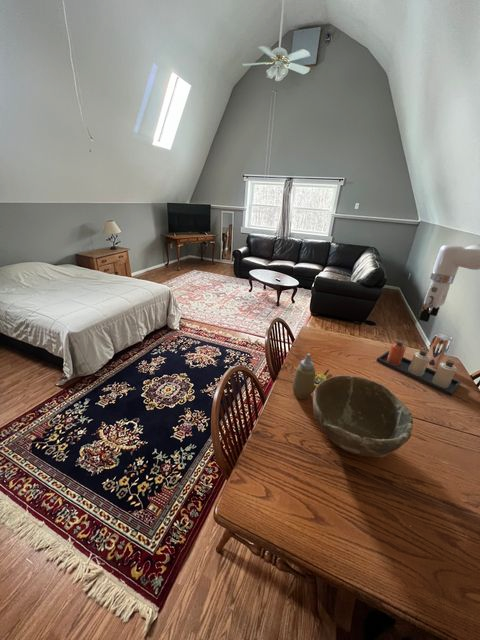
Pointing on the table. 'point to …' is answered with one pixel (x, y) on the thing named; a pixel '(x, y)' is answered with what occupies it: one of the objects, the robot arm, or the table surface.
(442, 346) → the beer glass
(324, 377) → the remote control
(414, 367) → the cream bottle
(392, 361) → the terracotta bottle
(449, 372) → the cream bottle
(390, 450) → the bowl
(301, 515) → the table surface
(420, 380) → the tray
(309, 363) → the squeeze bottle
